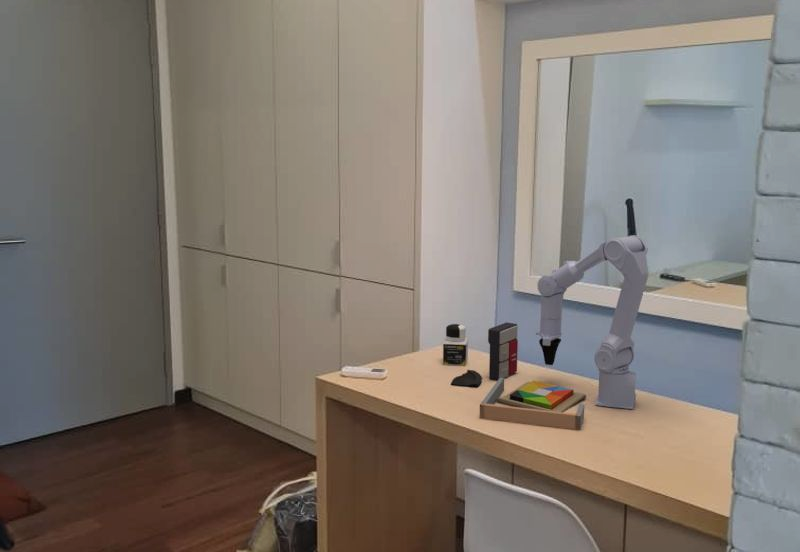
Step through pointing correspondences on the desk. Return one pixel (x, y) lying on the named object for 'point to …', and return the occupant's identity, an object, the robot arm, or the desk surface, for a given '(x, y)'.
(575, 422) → the bay
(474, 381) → the dark sector wedge
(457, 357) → the medicine bottle
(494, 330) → the grey and red box
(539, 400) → the wooden puzzle
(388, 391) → the desk surface
